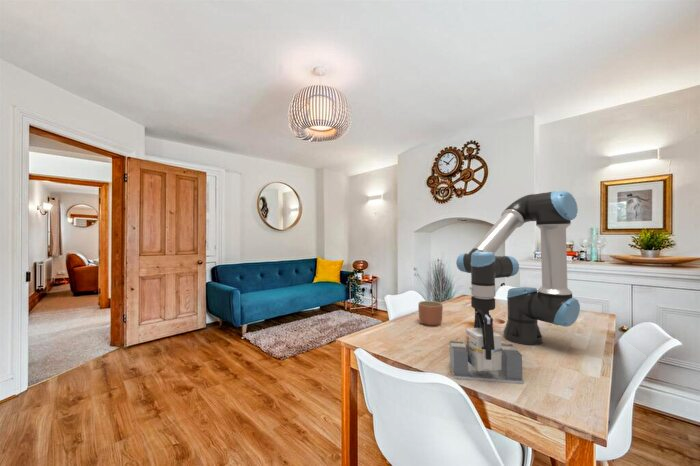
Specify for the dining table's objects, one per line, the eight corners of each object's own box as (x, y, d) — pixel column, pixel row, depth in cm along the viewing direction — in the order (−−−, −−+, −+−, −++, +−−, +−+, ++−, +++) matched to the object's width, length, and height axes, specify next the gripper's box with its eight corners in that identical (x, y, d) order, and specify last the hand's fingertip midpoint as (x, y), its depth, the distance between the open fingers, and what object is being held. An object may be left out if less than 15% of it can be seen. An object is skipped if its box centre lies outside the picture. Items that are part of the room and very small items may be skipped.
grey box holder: (511, 368, 104) (511, 342, 104) (523, 383, 93) (523, 355, 93) (449, 363, 108) (449, 338, 108) (454, 378, 97) (454, 350, 97)
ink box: (465, 360, 104) (465, 327, 105) (488, 359, 105) (487, 326, 105) (477, 371, 96) (477, 335, 96) (502, 370, 97) (502, 334, 97)
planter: (445, 327, 149) (445, 306, 149) (421, 327, 149) (421, 306, 149) (438, 320, 161) (438, 300, 161) (416, 320, 161) (416, 300, 161)
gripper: (465, 290, 112) (465, 348, 112) (479, 303, 90) (480, 376, 90) (485, 290, 111) (486, 349, 111) (505, 304, 89) (506, 378, 89)
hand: (483, 361), depth 101 cm, fingers closed on ink box, 10 cm apart
